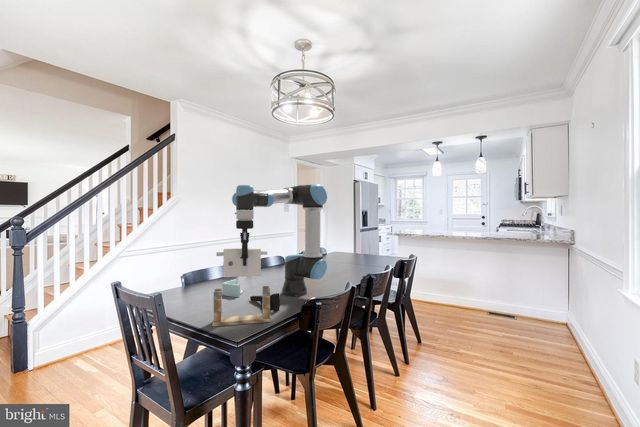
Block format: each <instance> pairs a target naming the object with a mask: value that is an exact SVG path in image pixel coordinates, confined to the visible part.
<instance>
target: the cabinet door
mask: <svg viewBox="0 0 640 427" xmlns="http://www.w3.org/2000/svg"><path fill="white" fill-rule="evenodd" d="M222 251H223V252H222ZM222 251H221V252H220V251H218V252H217V251H216V254H215V255H216V257H223V258H222V260H223V273H222V274H223V278H240V277H241V278H242V277H261V275H262V273H261V270H262V269H261V268H262V267H261V266H262V263H261V262H262V256H261V255H268V250H262V248H261V247H253V248H252V247H251V248H250V247H248V273H242V259H240V257H242V248H224V249H223V250H222Z"/></svg>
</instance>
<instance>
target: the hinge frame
mask: <svg viewBox="0 0 640 427" xmlns="http://www.w3.org/2000/svg"><path fill="white" fill-rule="evenodd" d="M270 295H271V288H270V286H269V285H263V286H262V296H263V302H262V304H261V305H262V308H261V309H262V312H261V314H251V315H250V314H249V315H240V316H239V315H237V316H224V317H223V295H222V287H221V288H215V289H214V291H213V320H212V326H211V327H220V326H222V327H223V326H232V325H245V324H246V325H247V324H248V325H249V324H257V323H258V324H259V323H270V322H272V316H271V310H270Z"/></svg>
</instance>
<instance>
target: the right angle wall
mask: <svg viewBox="0 0 640 427" xmlns="http://www.w3.org/2000/svg"><path fill="white" fill-rule="evenodd" d="M221 285H222V287H221V288H222V296H228V297H233V298H234V297H235V298H240V297H241V296H242V295H243V294H244V292H243V290H242V289H241V285H240V284H238V279H237V278H235V279H232V280H228V281H224V282H222V284H221Z"/></svg>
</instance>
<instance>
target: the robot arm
mask: <svg viewBox="0 0 640 427" xmlns="http://www.w3.org/2000/svg"><path fill="white" fill-rule="evenodd" d="M235 191H236V192H234V193H233V194H232V197H231V202H232V204H233V205H234V206H235V208H236V211H235V212H234V215H235V217H236V221H235V226H236V227H235V228H236V229H239V230H241V232H240V233H239V236H240V243H241V249H242V257H240V259H242V273H248V248H249V245H248V244H249V243H250V232H248V230H251V229H252V230H253V229H254V219H255V218H254V214H255V212H254V208H258V207H259V208H267V207H268V208H269V207H272V206H273V204H275V205H277V204H284V205H297V206H302V209H303V210H304V212H305V213H304V215H305V216H304V217H305V218H304V220H305V221H304V223H305V225H304V226H305V228H304V229H305V230H304V232H305V233H304V238H305V239H304V242H305V244H304V250H305V251H304V253H299V254H298V253H297V254H296V253H295V254H289V255H286V256H285V258H284V282H283V285H282V288H281V294H282V295H283V296H287V297H301V296H304V295H306V294H307V293H308V288H307V285H306V282H305V279H311V280H321V279H322V278H323V277H324V275H325V274H326V272H327V269H328V264H327V263H328V262H327V261H326V260H325V259H323V258H324V257H323V254H322V253H321V211H322V210H323V208H324V205H325V204H327V200H328V195H327V194H328V193H327V191H326V189H325V187H324V186H323V185H322V184H317V183H316V184H315V183H314V184H313V183H312V184H302V185H301V184H300V185H296V186H295V185H294V186H290V187H284V188H283V189H270V190H267V189H266V190H255V189H254V186H253V185H249V184H241V185H240V184H239V185H237V186H236V189H235Z"/></svg>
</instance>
